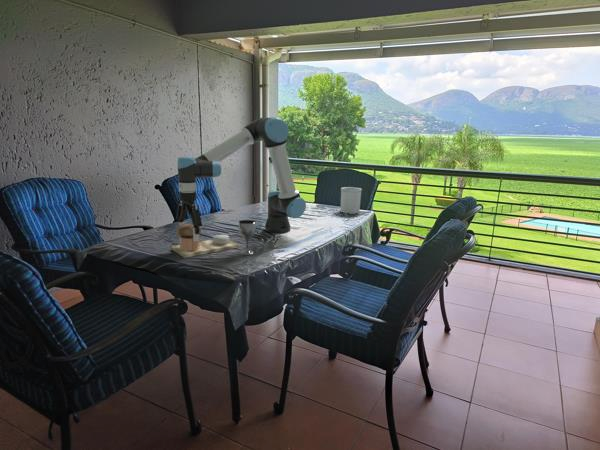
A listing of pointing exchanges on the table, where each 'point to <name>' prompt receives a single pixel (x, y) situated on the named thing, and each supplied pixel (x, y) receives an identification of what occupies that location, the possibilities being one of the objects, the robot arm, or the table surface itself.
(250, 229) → the wine glass
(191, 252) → the serving board
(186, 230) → the lid
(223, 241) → the light grey domed disc
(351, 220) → the table surface
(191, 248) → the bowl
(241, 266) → the table surface
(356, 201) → the utensil holder
